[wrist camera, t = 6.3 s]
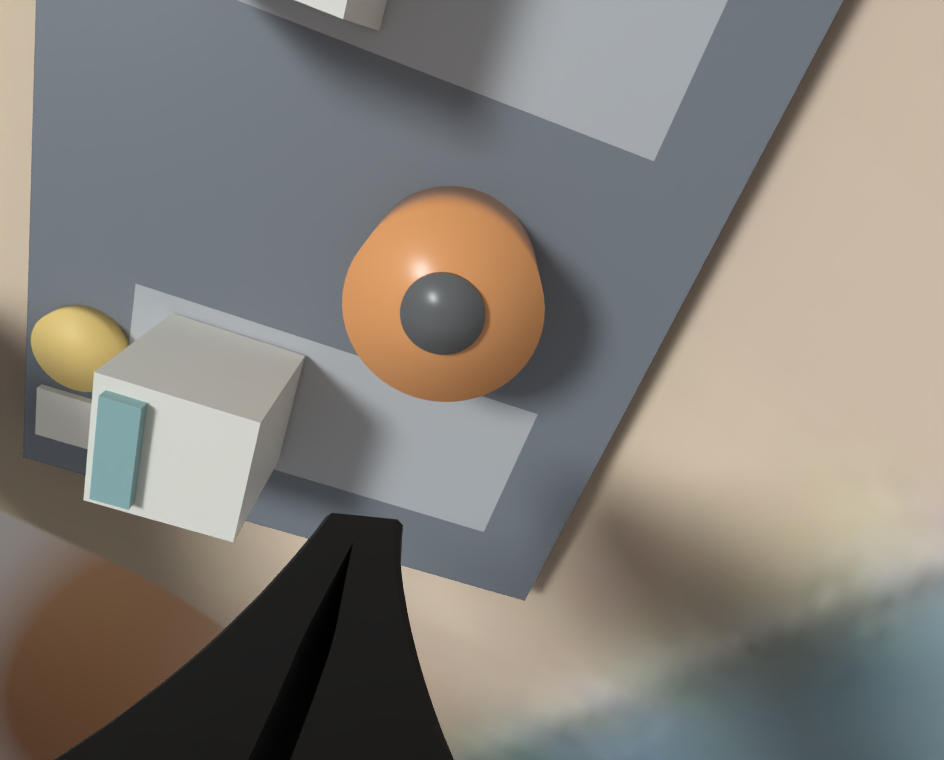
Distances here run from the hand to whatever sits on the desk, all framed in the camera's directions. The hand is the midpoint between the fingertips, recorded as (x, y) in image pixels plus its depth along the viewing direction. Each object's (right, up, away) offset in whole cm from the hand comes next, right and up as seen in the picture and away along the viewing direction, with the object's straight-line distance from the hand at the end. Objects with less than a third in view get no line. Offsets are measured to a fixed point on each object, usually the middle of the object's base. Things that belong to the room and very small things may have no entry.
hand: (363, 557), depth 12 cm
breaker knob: (-6, +3, +8) cm, 10 cm away
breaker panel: (-1, +9, +6) cm, 11 cm away
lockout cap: (+1, +6, +6) cm, 9 cm away
